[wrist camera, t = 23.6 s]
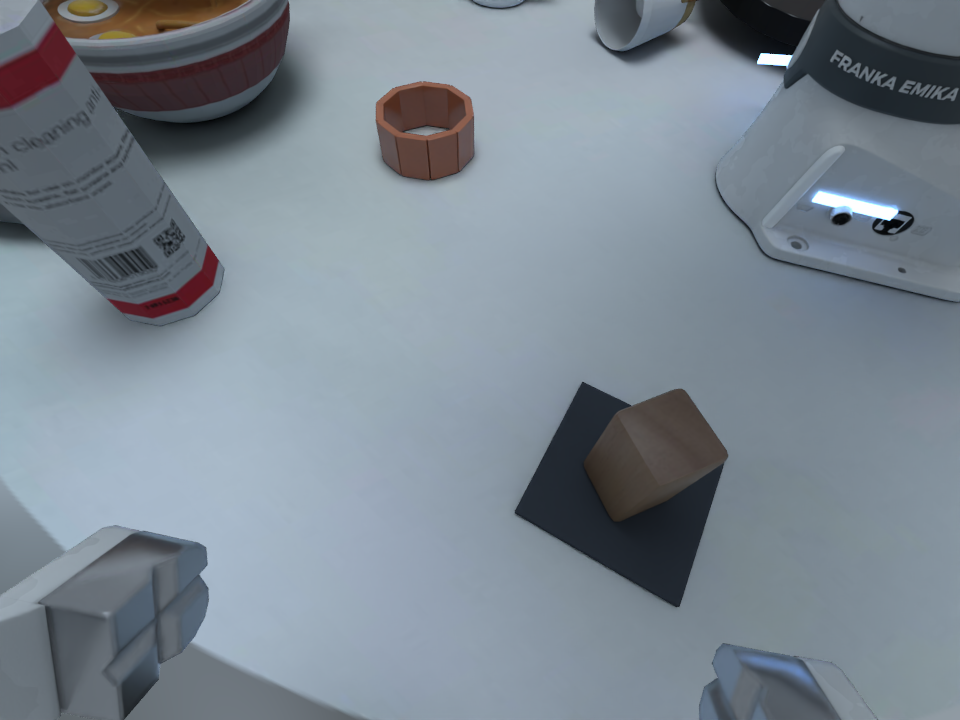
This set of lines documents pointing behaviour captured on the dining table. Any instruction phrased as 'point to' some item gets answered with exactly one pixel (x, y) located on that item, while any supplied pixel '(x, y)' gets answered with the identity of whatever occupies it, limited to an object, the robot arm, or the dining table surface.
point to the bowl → (176, 52)
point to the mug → (498, 3)
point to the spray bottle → (91, 179)
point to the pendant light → (637, 20)
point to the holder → (420, 109)
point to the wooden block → (652, 454)
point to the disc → (776, 16)
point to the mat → (585, 521)
